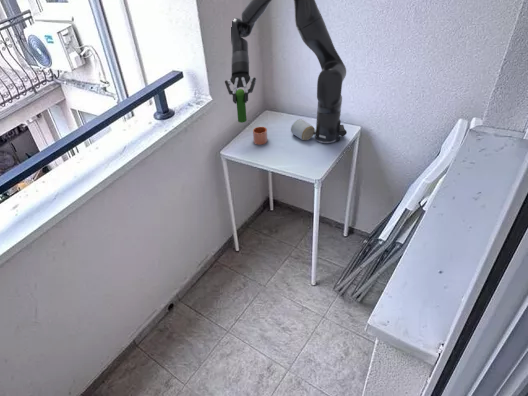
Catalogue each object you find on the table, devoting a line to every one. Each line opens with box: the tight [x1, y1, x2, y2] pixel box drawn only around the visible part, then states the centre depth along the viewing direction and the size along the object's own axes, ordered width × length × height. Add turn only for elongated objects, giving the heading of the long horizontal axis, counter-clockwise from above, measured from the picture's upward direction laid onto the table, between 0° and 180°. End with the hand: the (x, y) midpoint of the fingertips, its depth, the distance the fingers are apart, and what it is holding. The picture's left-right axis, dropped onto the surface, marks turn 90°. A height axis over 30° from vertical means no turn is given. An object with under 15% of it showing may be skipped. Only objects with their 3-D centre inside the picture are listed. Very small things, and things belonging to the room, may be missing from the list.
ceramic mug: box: [290, 118, 316, 141], centre depth 163 cm, size 11×8×8 cm
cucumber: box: [236, 88, 248, 124], centre depth 158 cm, size 4×4×15 cm
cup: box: [252, 126, 268, 146], centre depth 166 cm, size 6×6×6 cm
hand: (240, 102), depth 155 cm, fingers closed on cucumber, 4 cm apart
